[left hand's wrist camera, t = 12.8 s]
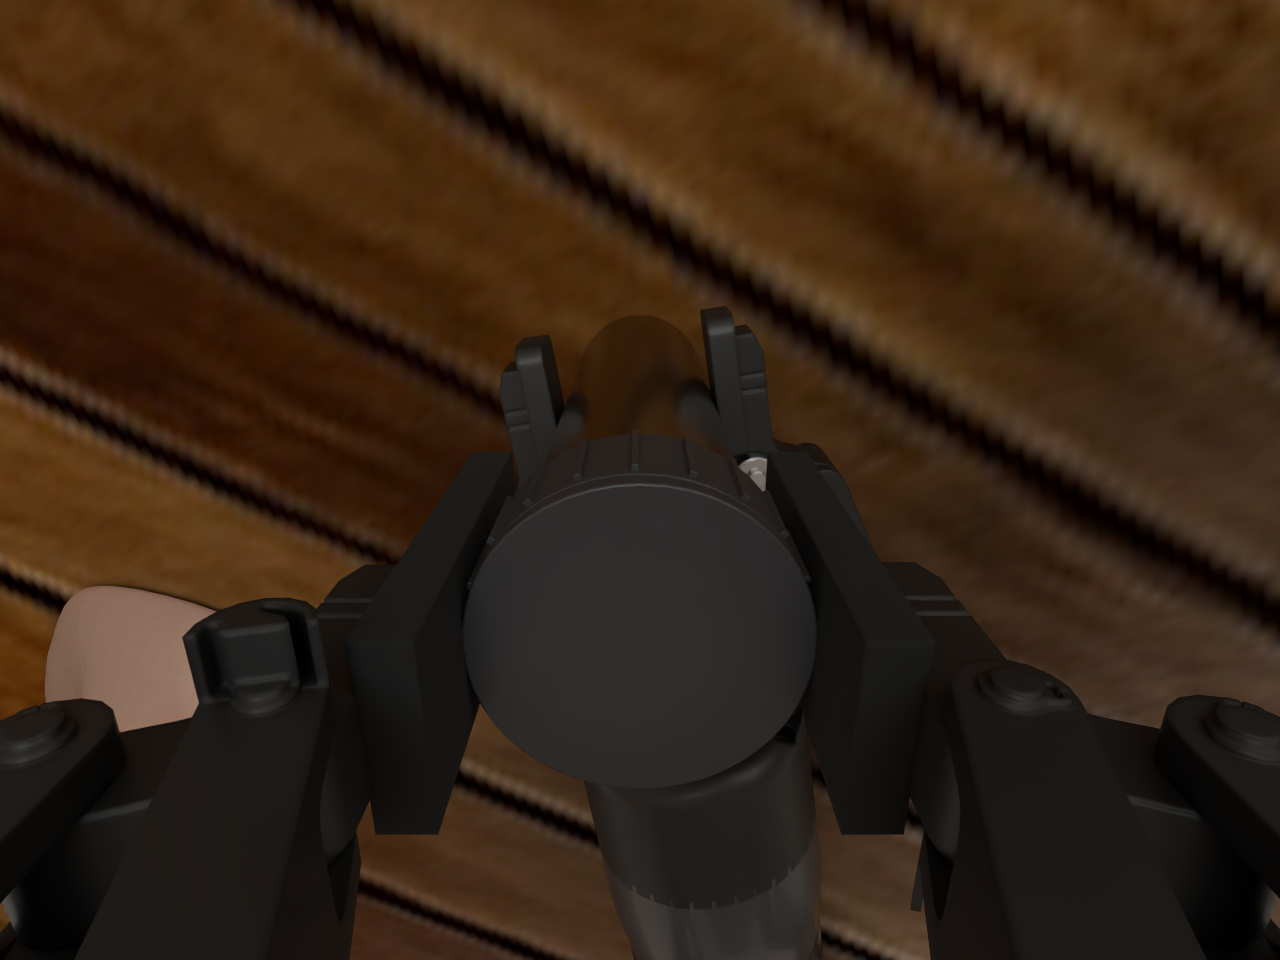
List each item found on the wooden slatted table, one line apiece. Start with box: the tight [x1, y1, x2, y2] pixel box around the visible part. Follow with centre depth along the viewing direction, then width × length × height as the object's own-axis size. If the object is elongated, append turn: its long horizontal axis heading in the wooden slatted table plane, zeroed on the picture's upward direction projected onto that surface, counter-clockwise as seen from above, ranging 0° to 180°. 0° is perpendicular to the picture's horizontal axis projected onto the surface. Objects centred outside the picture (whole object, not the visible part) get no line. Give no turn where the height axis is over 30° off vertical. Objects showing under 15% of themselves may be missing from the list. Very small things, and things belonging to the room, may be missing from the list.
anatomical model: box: [45, 586, 217, 732], centre depth 30 cm, size 13×4×12 cm
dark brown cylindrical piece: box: [544, 316, 735, 464], centre depth 19 cm, size 4×4×17 cm
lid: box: [462, 430, 817, 789], centre depth 11 cm, size 5×5×2 cm
